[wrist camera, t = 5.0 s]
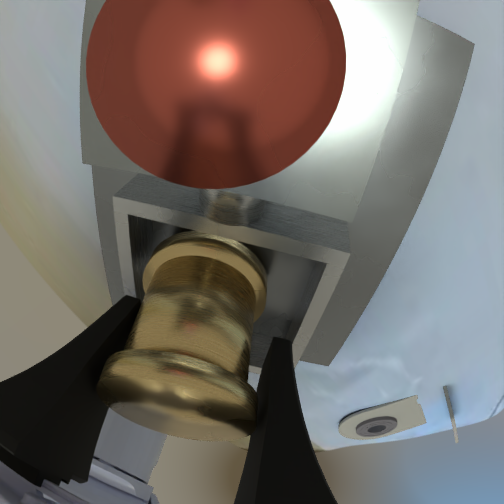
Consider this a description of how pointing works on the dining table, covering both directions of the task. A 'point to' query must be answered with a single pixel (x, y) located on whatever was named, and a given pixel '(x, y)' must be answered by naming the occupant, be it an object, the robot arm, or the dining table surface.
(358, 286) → the valve base
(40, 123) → the dining table surface
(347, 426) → the bracket
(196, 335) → the brass spool
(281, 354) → the robot arm
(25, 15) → the dining table surface
